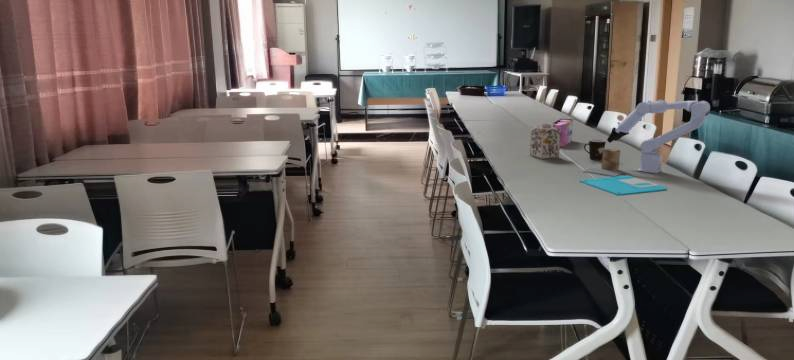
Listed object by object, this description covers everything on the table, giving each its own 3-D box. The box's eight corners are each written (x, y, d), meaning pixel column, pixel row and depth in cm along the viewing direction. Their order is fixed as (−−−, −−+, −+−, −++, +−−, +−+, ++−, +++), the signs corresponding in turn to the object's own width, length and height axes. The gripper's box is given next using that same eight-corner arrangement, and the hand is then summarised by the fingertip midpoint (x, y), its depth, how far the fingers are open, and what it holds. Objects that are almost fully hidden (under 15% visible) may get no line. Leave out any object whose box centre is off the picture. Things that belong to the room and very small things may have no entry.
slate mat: (623, 173, 297) (623, 172, 297) (615, 176, 290) (615, 175, 290) (591, 168, 308) (591, 167, 307) (583, 171, 300) (583, 170, 300)
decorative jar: (559, 157, 333) (561, 124, 329) (541, 159, 329) (543, 125, 325) (546, 153, 344) (548, 121, 340) (528, 155, 340) (530, 122, 336)
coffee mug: (602, 157, 334) (603, 139, 331) (606, 160, 326) (607, 142, 323) (580, 157, 335) (581, 138, 333) (583, 160, 327) (584, 141, 324)
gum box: (563, 147, 364) (564, 124, 360) (549, 146, 367) (551, 123, 364) (571, 140, 384) (573, 119, 381) (559, 139, 388) (560, 118, 384)
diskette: (578, 182, 281) (578, 180, 281) (628, 177, 291) (628, 175, 291) (617, 196, 257) (617, 194, 257) (670, 190, 267) (670, 188, 267)
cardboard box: (618, 169, 305) (620, 150, 302) (615, 171, 301) (617, 151, 299) (604, 167, 309) (606, 148, 307) (601, 169, 306) (603, 149, 303)
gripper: (630, 114, 310) (611, 133, 318) (619, 116, 299) (600, 136, 307) (640, 124, 308) (620, 143, 315) (629, 127, 297) (610, 146, 304)
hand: (611, 140), depth 311 cm, fingers open, 7 cm apart
